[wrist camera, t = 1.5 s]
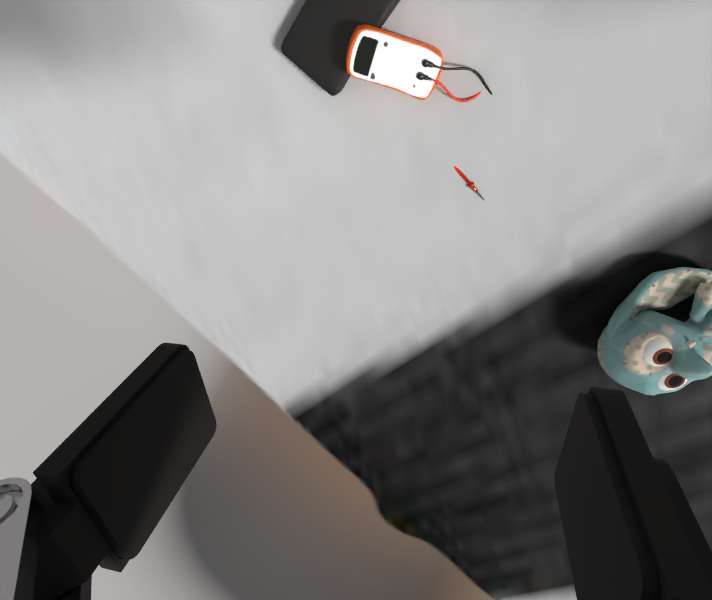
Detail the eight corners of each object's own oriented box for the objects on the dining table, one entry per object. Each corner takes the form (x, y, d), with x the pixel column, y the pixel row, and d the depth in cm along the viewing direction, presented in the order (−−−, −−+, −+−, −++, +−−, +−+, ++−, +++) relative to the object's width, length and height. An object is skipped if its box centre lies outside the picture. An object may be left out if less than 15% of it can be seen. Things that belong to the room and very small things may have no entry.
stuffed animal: (854, 383, 27) (659, 455, 30) (764, 328, 33) (611, 392, 37) (816, 250, 23) (601, 349, 27) (723, 217, 30) (560, 300, 33)
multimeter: (602, 99, 27) (617, 106, 24) (456, 221, 33) (454, 239, 30) (403, -150, 23) (393, -177, 20) (281, 42, 29) (260, 42, 26)
